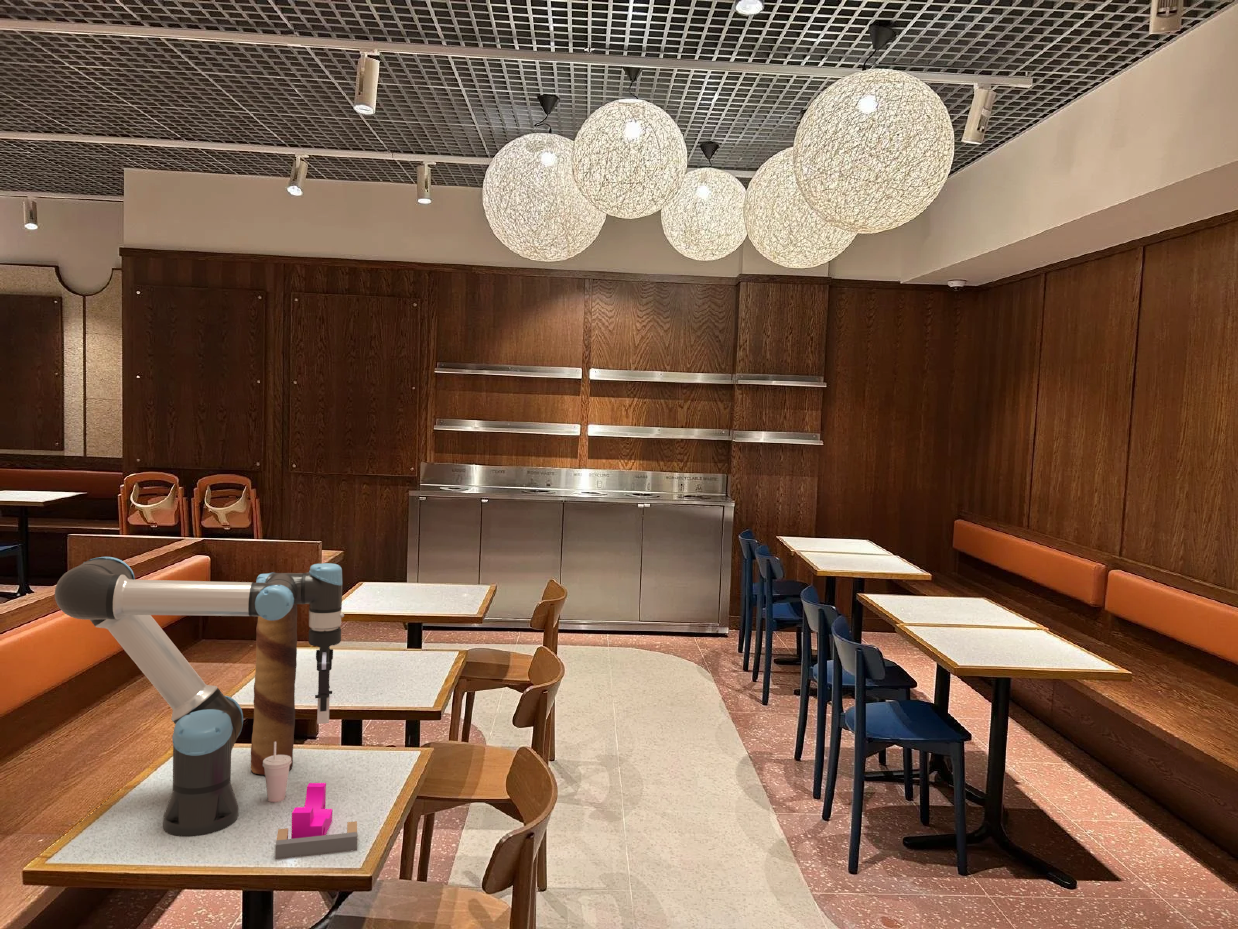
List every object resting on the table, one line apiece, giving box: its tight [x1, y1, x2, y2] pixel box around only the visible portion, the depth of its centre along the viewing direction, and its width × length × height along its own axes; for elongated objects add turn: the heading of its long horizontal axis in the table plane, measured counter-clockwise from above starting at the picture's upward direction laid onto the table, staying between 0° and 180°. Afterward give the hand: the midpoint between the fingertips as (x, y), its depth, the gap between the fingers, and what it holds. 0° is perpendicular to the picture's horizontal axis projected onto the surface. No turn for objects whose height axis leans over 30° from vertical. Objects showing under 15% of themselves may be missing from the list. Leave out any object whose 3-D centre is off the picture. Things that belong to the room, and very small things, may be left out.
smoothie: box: [263, 741, 292, 803], centre depth 202 cm, size 6×6×14 cm
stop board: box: [274, 821, 358, 860], centre depth 180 cm, size 16×7×4 cm, turn 108°
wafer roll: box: [250, 604, 298, 776], centre depth 218 cm, size 10×11×45 cm
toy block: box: [290, 782, 333, 839], centre depth 188 cm, size 15×6×8 cm, turn 7°
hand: (323, 722), depth 209 cm, fingers closed
